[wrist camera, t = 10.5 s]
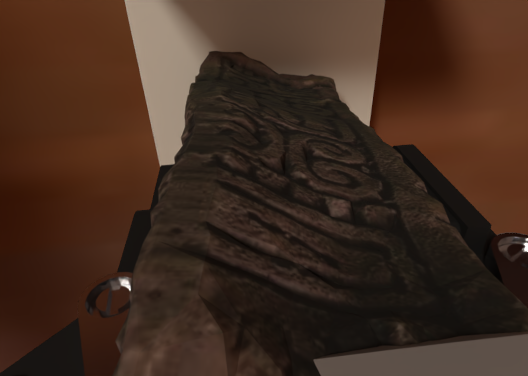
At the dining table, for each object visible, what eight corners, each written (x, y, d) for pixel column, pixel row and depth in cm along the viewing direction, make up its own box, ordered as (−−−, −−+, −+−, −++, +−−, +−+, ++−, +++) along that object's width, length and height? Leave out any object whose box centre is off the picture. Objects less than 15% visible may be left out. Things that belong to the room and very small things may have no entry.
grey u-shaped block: (104, -148, 16) (-27, -251, 7) (386, -156, 16) (562, -257, 8) (180, 229, 27) (163, 360, 18) (347, 213, 27) (404, 332, 19)
